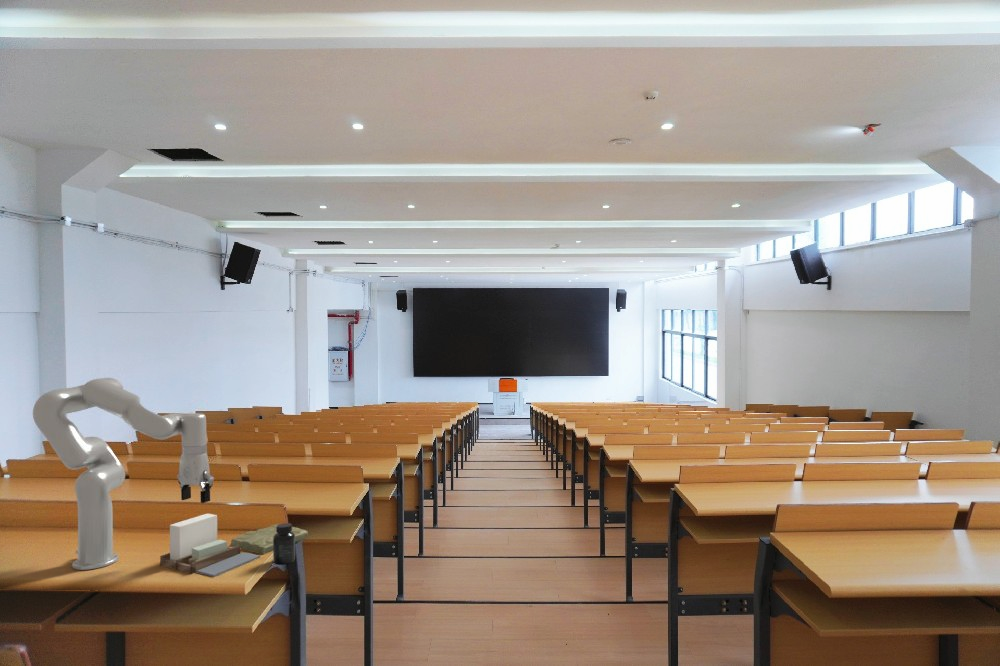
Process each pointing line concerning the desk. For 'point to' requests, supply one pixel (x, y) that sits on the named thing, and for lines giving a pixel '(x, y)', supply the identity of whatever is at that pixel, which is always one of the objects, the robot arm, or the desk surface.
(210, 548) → the offcut upper
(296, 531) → the decorative tile
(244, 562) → the mat
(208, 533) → the off-white rectangular prism
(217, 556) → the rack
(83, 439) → the robot arm
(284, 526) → the supplement bottle
